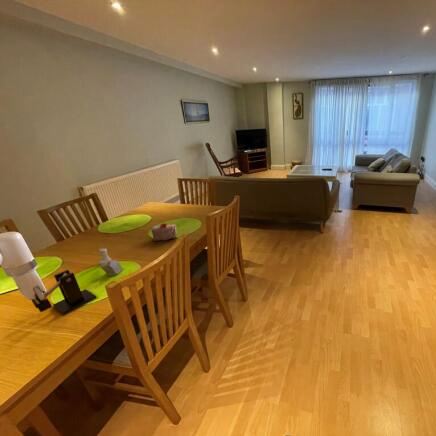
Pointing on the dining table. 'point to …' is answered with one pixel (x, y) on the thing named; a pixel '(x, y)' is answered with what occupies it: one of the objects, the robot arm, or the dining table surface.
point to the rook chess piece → (104, 254)
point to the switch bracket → (71, 293)
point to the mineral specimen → (110, 267)
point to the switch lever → (51, 289)
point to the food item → (164, 232)
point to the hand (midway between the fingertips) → (44, 307)
